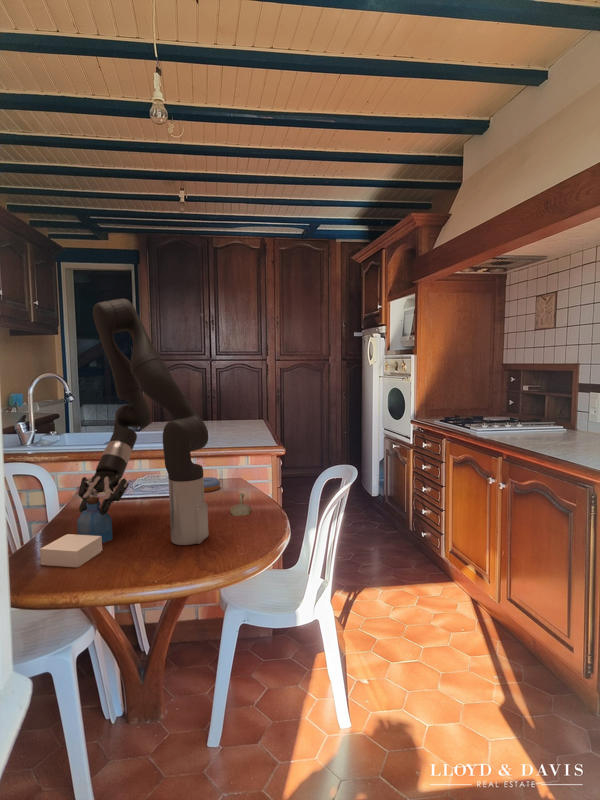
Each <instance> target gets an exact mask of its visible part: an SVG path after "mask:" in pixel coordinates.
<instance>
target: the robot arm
mask: <svg viewBox="0 0 600 800" xmlns="http://www.w3.org/2000/svg"><path fill="white" fill-rule="evenodd" d="M92 315H93V322H94V325H95V328H96V330H97V333H98V336H99V337H98V338H99V340H100V342H101V344H102V348H103V351H104V354H105V355H106V358H107V360H108V363H109V366H110V369H111V373H112V377H113V381H114V382H113V383H114V386H115V391H116V395H117V397H118V399H119V400H122V401H125V402H126V403H129V404H122V405H121V406H119V407H118V408H117V409H116V412H115V416H114V417H115V419H114V426H113V432H112V434H111V437H110V439H109V441H108V443H107V445H106V447H105V449H104V451H103V452H102V455H101V456H100V457H101V458H99V461H98V464H97V466H96V468H95V474H94V475H93V476H92V477H90V478H87V477H86V476H83V477H82V479H81V480H80V481H81V482H80V485H79V489H78V492H77V493H78V494H77V495H78V496H79V497H80V499H82V501H81V503H80V505H79V507H78V510H79V512H80V514H81V513H82V512H83V511H86V510H88V508H87V505H86V504H87V503H88V502H87V499H88V498H91V497H98V495H99V494H100V493H105V495H104V497H105V499H103V500H102V503H101V504H100V506H99V508H100V510H99V512H100V514H101V515H105V514H106V513H108V511H109V510H110V507H111V505H112V503H114V502H119V501H120V500H121V498H122V497H123V495H124V494H125V492H126V490H127V489H128V487H129V485H130V483H129V482H128V480H127V479H126V478H123V477H124V473H125V472H126V469H127V466H128V464H129V462H130V459H131V457H132V451H133V449H134V447H135V444H136V441H137V439H138V434H137V432H136V431H134V429H133V428H145V427H147V426H149V425H150V423H151V421H152V411H151V408H150V405H149V404H148V401H147V399H146V398H145V396H144V394H145V395H146V396H147V397H149V398H150V399H151V400H153V402H155V403H157V404H158V405H159V406H160V407H162V408H163V409H165V411H167V413H168V414H170V415H169V416H171V417H172V420H170V421H168V422H167V423H166V424H165V425H164V428H163V431H162V448H163V457H164V467H165V469H166V473H167V475H168V496H169V497H168V498H169V519H170V520H169V521H170V541H171V542H172V543H173V544H175V545H178V546H190V545H196V544H197V545H200V544H201V543H203V542H204V540H206V539H207V538H208V536H209V517H208V516H209V515H208V513H209V511H208V502H205V492H204V481H203V478H204V467H203V465H201V464H199V463H193V461H192V455H191V452H195V451H199V450H201V449H203V448H205V447H206V446H207V444H208V442H209V432H208V428H207V426H206V424H205V422H204V420H203V419H202V418H201V417H200V415H199V413H198V412H197V411H196V410H195V408H194V407H193V406H192V404H191V403H190V401H188V398H186V396H185V395H184V393H183V392H182V390H181V388H180V387H179V385H178V383H177V382H176V380H175V379H174V377H173V375H172V373H171V372H170V370H169V368H168V366H167V365H166V363H165V361H164V360H163V358H162V357H161V355H160V354H159V352H158V350H157V349H156V347H155V345H154V343H153V342H152V340H151V338H150V336H149V335H148V333H147V331H146V328H145V327H144V326H145V325H143V323H142V320H141V318H140V316H139V314H138V312H137V310H136V308H135V306H134V305H133V303H132V302H131V301H130V300H129V299H127V298H116V299H111V300H104V301H101V302H97V303H96V304H94V306H93V309H92ZM126 331H127V332H128V333H129V335H130V337H131V339H132V350H131V351H132V352H131V356H130V359H129V358H128V357H127V356H126V355H125V354H124V353H123V351H121V350H120V348H119V347H118V345H117V343H116V341H115V339H114V335H113V334H116V333H120V332H126ZM131 428H132V429H131Z"/></svg>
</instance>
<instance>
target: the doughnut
mask: <svg viewBox="0 0 600 800" xmlns="http://www.w3.org/2000/svg"><path fill="white" fill-rule="evenodd" d="M203 481H204V493H210V492H211V493H212V492H215V491H216V490H219V489H220V487H221V481H220V480H219V479H218V478H217V477H213V476H212V477H211V476H210V477H209V476H208V477H203Z"/></svg>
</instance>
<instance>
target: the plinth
mask: <svg viewBox="0 0 600 800" xmlns="http://www.w3.org/2000/svg"><path fill="white" fill-rule="evenodd" d="M101 551H102V552H103V544H102V536H91V535H78V534H71V533H70V534H69V533H67V534H64V535H63V536H61V537H59V538H58V539H55V540H54V541H51V542H50V543H48V544H47V545H44V546H43V547H40V549H39V554H40V556H39V557H40V565H41V566H52V567H53V566H54V567H69V568H79V567H81V566H82V565H84V564H85V563H87V562H88V561H90V560H92V559H93V558H94V557H97V555H99V554H100V553H102V552H101Z"/></svg>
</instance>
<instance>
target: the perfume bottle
mask: <svg viewBox="0 0 600 800" xmlns="http://www.w3.org/2000/svg"><path fill="white" fill-rule="evenodd" d="M87 502H88V503H87V504H86V505H87V508H88V509H87V510H86V511H83V512H82V513H81V512H80V515H79V517H78V519H77V521H76V525H77V535H91V536H102V543H103V544H105V543H107V541H108V542H110V540H111V541H113V540H112V539H113V524H112V523H113V522H112V517H111V515H110V514H109V513H108V512H107V513H106V514H105V515H101V514H100V512H99V510H100V507H101V501H100V497H99V496H95V497H91V498H88V499H87ZM104 542H105V543H104Z"/></svg>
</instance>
